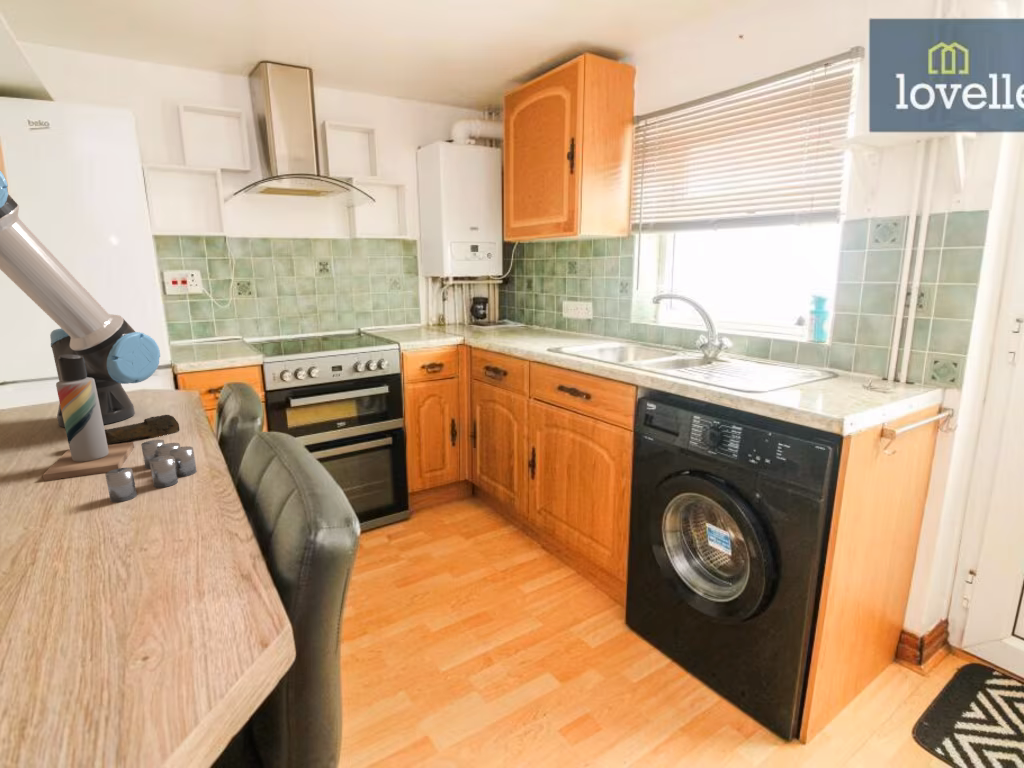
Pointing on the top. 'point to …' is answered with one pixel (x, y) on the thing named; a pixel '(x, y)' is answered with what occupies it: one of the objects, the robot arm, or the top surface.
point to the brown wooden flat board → (89, 463)
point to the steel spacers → (153, 469)
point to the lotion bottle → (80, 410)
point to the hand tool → (143, 429)
